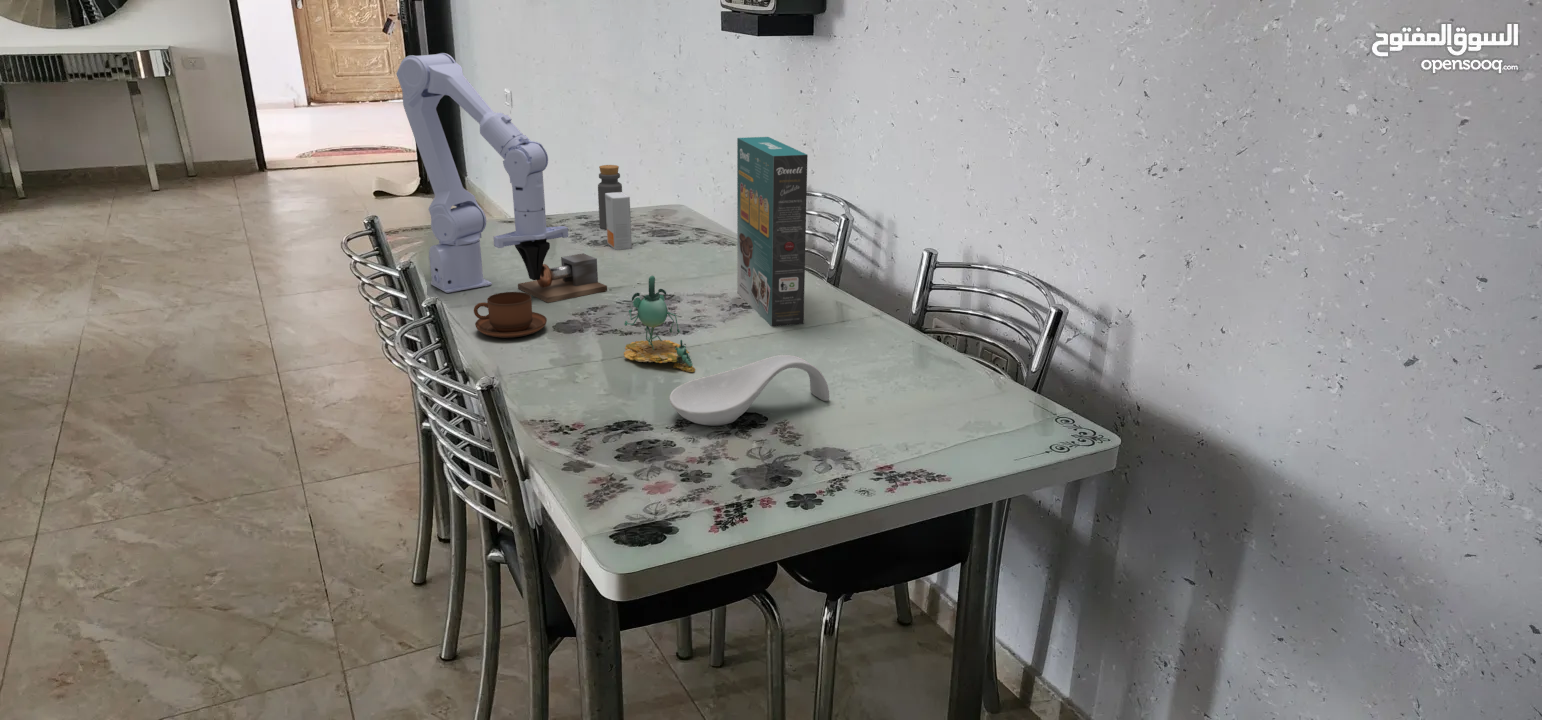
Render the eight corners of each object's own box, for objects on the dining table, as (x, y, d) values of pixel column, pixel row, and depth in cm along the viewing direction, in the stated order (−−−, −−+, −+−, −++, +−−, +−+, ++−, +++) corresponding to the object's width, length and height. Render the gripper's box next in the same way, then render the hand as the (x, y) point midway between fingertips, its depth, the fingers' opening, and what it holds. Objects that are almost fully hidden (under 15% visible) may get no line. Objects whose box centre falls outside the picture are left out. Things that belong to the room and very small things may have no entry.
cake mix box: (803, 323, 181) (807, 154, 170) (771, 326, 179) (773, 156, 169) (766, 290, 200) (768, 136, 190) (737, 292, 199) (737, 137, 188)
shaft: (547, 289, 194) (545, 267, 193) (536, 284, 198) (534, 262, 196) (589, 281, 200) (587, 260, 198) (577, 276, 203) (576, 255, 202)
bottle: (621, 229, 248) (619, 168, 243) (597, 229, 248) (594, 168, 243) (625, 224, 253) (622, 164, 248) (602, 224, 253) (599, 164, 248)
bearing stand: (547, 302, 191) (545, 273, 189) (518, 288, 200) (515, 260, 198) (607, 290, 199) (605, 262, 197) (576, 277, 207) (574, 250, 205)
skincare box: (606, 244, 234) (604, 192, 230) (624, 242, 236) (622, 191, 232) (614, 250, 229) (612, 197, 225) (632, 248, 231) (630, 196, 226)
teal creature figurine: (652, 382, 154) (643, 287, 150) (608, 359, 169) (599, 271, 165) (708, 371, 158) (701, 277, 154) (661, 349, 173) (653, 263, 170)
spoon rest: (690, 442, 134) (689, 392, 132) (657, 411, 144) (655, 363, 141) (842, 410, 145) (844, 363, 142) (801, 383, 154) (802, 339, 152)
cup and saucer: (480, 346, 168) (477, 311, 166) (472, 325, 179) (469, 291, 176) (553, 338, 172) (551, 304, 170) (540, 318, 183) (538, 285, 181)
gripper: (503, 217, 183) (509, 290, 187) (574, 207, 191) (578, 277, 196) (486, 211, 188) (492, 281, 192) (556, 201, 196) (560, 269, 201)
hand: (534, 278), depth 195 cm, fingers closed
